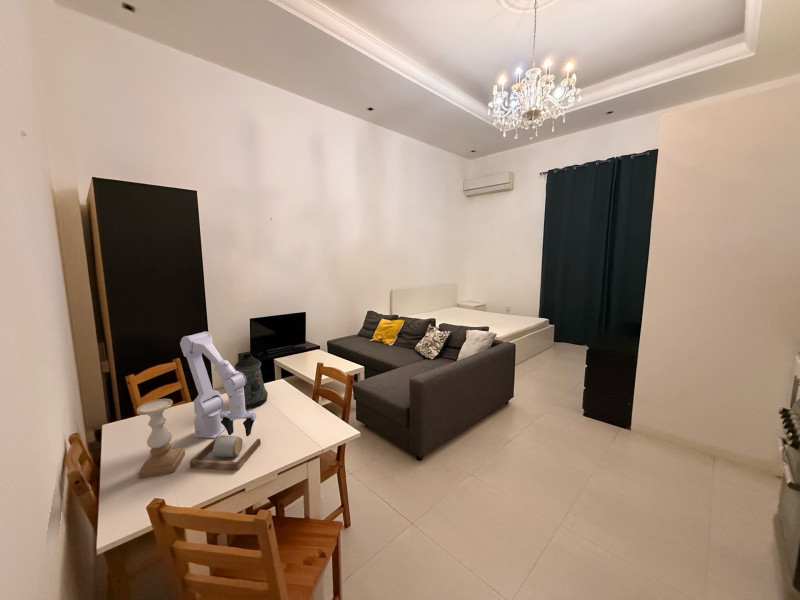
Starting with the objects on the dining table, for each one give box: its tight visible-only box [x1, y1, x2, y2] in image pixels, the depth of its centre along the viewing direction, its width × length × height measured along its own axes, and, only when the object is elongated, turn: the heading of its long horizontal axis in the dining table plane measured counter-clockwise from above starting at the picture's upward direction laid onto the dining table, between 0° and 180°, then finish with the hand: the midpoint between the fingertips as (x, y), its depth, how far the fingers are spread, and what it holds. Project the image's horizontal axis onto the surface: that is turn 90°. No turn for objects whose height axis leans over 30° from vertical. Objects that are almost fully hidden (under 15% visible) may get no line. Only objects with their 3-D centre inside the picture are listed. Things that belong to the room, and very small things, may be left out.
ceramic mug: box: [212, 434, 243, 458], centre depth 121 cm, size 11×8×8 cm
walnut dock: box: [189, 436, 262, 471], centre depth 119 cm, size 18×15×2 cm
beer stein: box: [233, 353, 269, 411], centre depth 160 cm, size 16×19×25 cm
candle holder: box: [136, 398, 186, 479], centre depth 112 cm, size 11×11×24 cm
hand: (239, 434), depth 127 cm, fingers open, 7 cm apart
